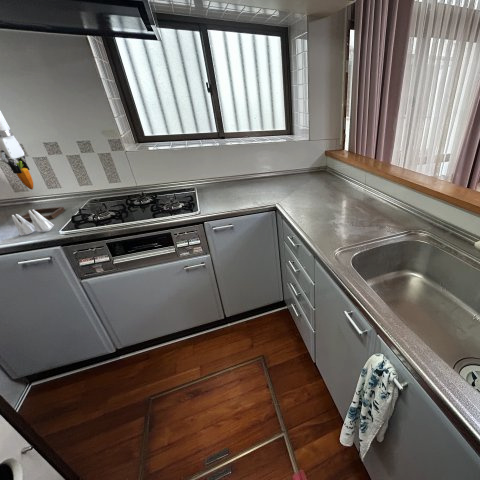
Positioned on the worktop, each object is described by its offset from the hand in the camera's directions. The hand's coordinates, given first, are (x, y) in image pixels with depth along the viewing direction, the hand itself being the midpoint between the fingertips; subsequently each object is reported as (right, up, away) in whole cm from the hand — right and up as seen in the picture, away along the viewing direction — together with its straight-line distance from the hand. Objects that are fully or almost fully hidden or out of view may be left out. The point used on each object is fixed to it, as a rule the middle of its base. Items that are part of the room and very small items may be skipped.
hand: (22, 171), depth 137 cm
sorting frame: (+8, -23, +3) cm, 24 cm away
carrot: (0, -9, +5) cm, 10 cm away
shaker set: (+22, -32, -13) cm, 41 cm away
